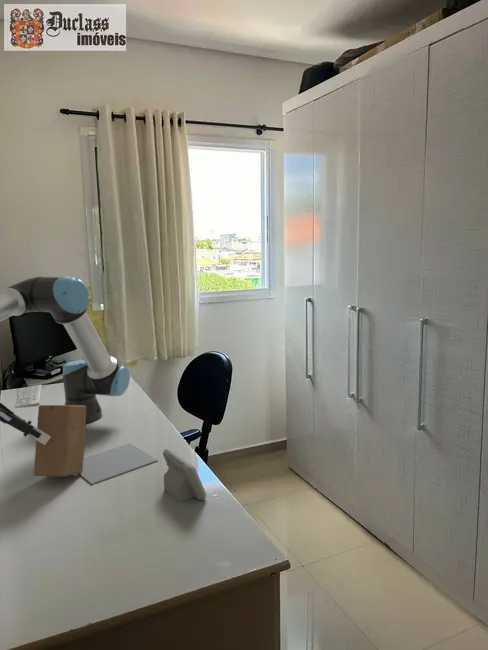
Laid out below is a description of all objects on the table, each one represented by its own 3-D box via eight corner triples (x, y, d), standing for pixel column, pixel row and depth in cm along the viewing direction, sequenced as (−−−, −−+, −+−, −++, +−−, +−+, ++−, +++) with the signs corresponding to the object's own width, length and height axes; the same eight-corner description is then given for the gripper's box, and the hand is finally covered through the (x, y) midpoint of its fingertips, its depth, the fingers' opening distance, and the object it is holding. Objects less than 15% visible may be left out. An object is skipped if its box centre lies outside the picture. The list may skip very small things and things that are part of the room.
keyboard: (18, 390, 235) (18, 386, 235) (41, 387, 239) (41, 383, 238) (13, 409, 208) (13, 405, 208) (39, 406, 212) (39, 401, 211)
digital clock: (208, 502, 130) (207, 464, 128) (175, 510, 127) (173, 471, 125) (190, 475, 145) (188, 442, 143) (160, 482, 141) (158, 447, 140)
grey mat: (129, 444, 168) (129, 443, 168) (157, 461, 155) (157, 460, 155) (67, 464, 154) (66, 463, 154) (91, 484, 141) (91, 483, 141)
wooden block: (64, 477, 138) (68, 405, 141) (32, 476, 140) (38, 405, 143) (83, 472, 147) (87, 405, 151) (53, 471, 149) (57, 405, 153)
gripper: (-41, 403, 129) (30, 444, 143) (-29, 416, 120) (46, 459, 133) (-21, 380, 132) (47, 422, 146) (-8, 390, 122) (64, 435, 136)
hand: (47, 440), depth 139 cm, fingers closed
